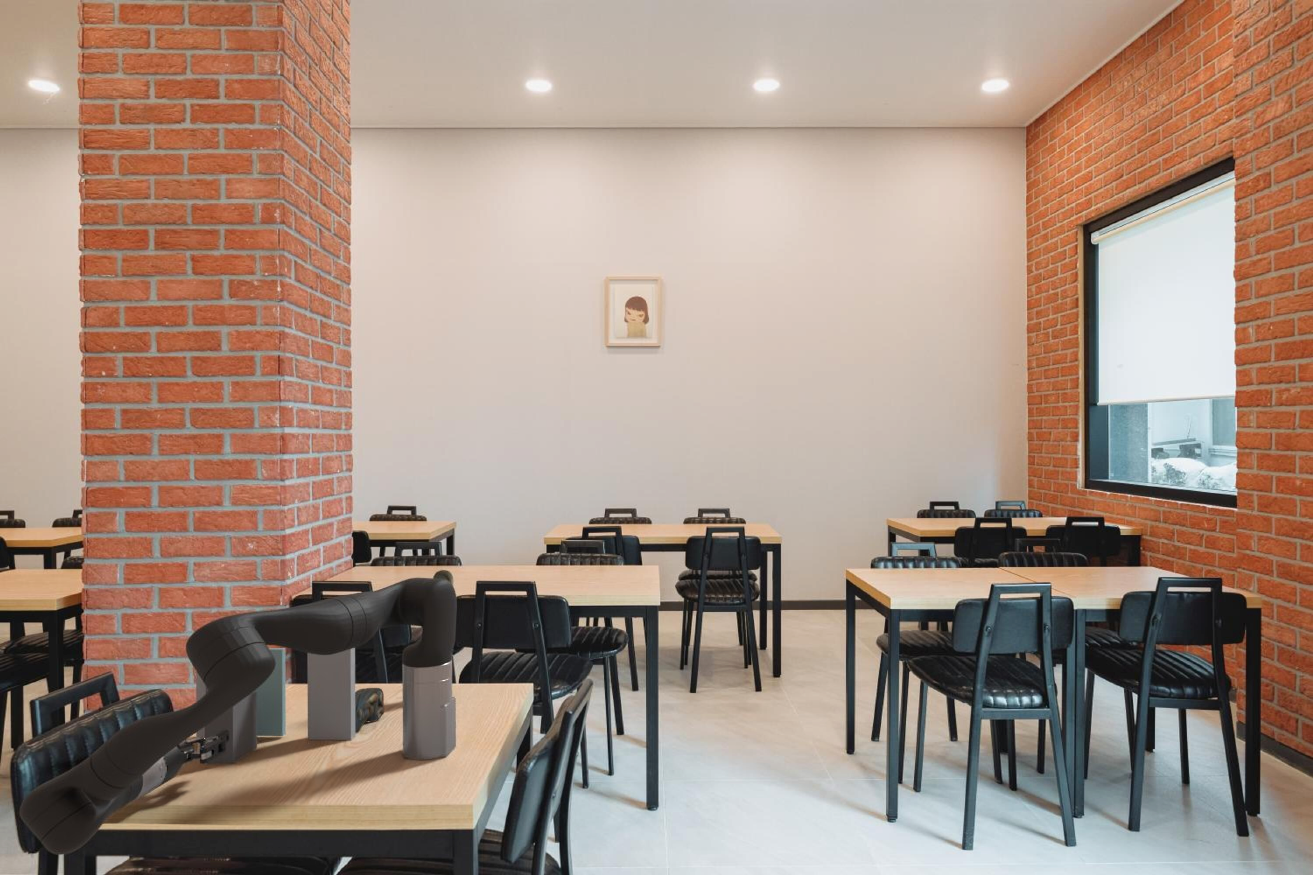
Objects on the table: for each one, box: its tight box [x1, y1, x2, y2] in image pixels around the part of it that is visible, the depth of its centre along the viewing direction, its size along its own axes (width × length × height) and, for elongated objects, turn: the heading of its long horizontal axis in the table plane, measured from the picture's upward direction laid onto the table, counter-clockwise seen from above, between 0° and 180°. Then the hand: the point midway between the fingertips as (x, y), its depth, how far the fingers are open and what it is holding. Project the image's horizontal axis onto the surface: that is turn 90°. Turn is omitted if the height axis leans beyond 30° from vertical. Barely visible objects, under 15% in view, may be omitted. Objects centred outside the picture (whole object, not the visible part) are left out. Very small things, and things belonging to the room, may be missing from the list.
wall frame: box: [195, 647, 356, 741], centre depth 165 cm, size 32×2×22 cm, turn 86°
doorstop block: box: [205, 692, 258, 765], centre depth 155 cm, size 6×8×11 cm
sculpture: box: [355, 687, 385, 734], centre depth 173 cm, size 13×6×7 cm, turn 4°
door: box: [253, 647, 287, 737], centre depth 166 cm, size 16×2×18 cm, turn 86°
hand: (204, 734), depth 147 cm, fingers open, 8 cm apart
